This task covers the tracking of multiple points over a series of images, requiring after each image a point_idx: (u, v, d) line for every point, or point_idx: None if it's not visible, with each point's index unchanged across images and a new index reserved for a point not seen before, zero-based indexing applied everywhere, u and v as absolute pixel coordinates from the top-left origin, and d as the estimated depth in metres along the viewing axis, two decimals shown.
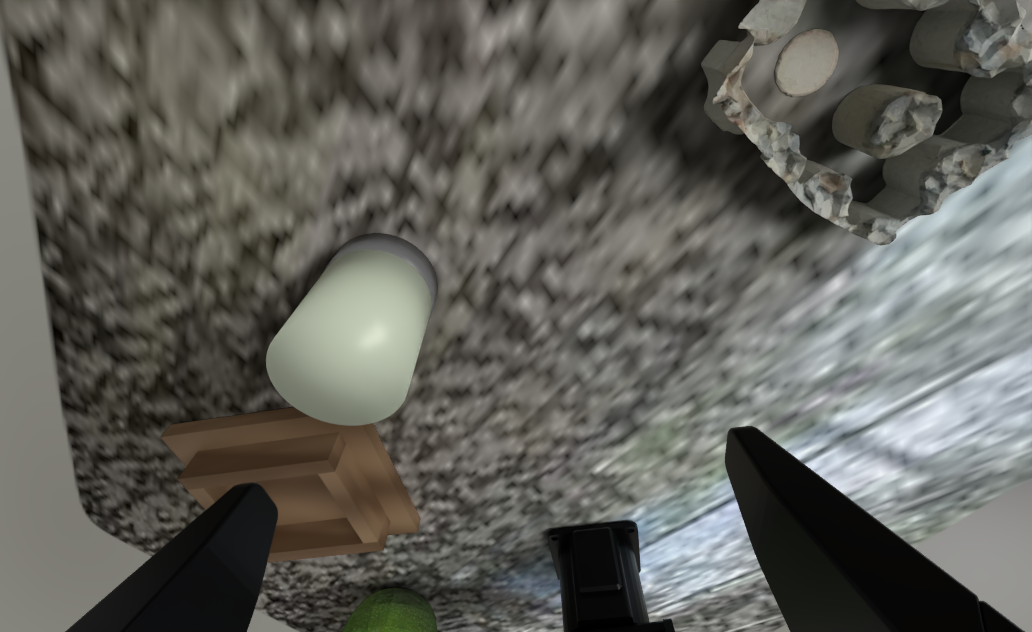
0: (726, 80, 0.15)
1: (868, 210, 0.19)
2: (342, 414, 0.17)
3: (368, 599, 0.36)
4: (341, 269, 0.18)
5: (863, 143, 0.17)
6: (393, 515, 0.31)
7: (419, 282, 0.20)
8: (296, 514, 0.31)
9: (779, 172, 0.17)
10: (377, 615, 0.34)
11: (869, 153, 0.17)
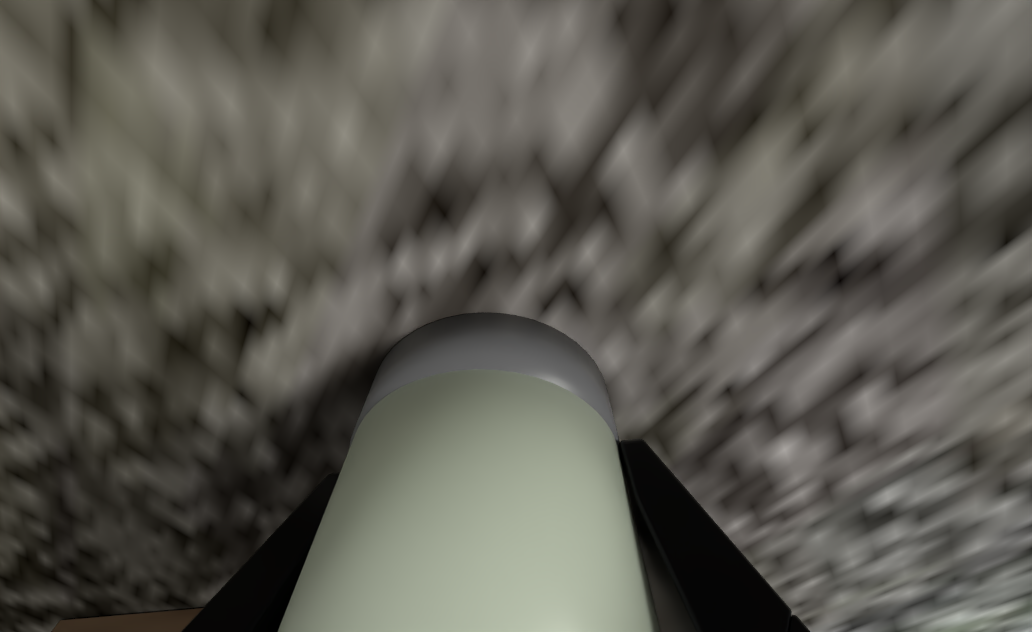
0: None
1: None
2: None
3: None
4: (432, 462, 0.06)
5: None
6: None
7: (615, 455, 0.08)
8: None
9: None
10: None
11: None
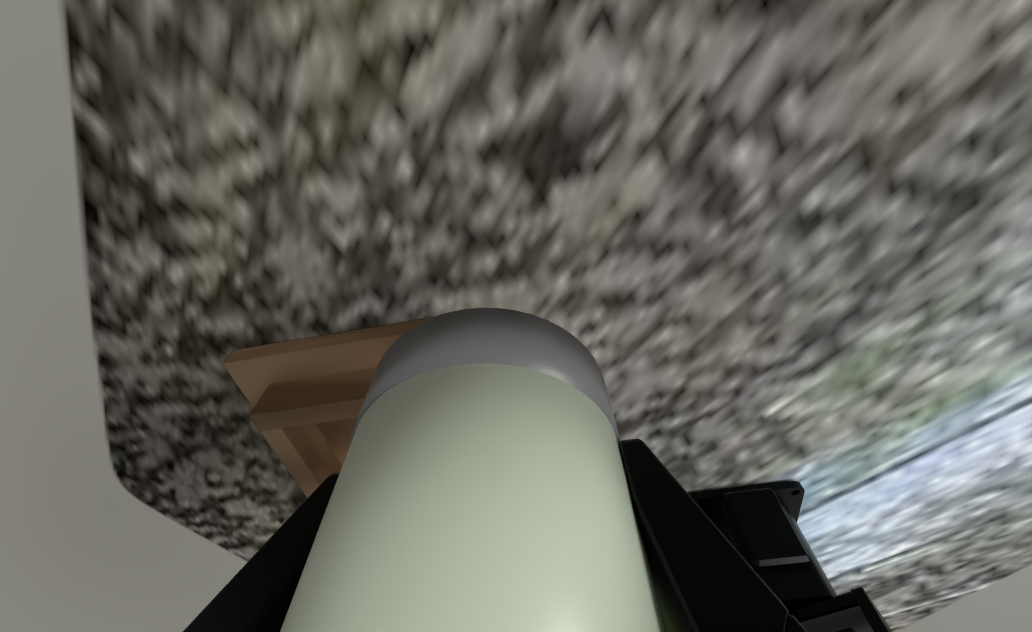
0: None
1: None
2: None
3: None
4: (436, 454, 0.06)
5: None
6: None
7: (615, 446, 0.08)
8: None
9: None
10: None
11: None
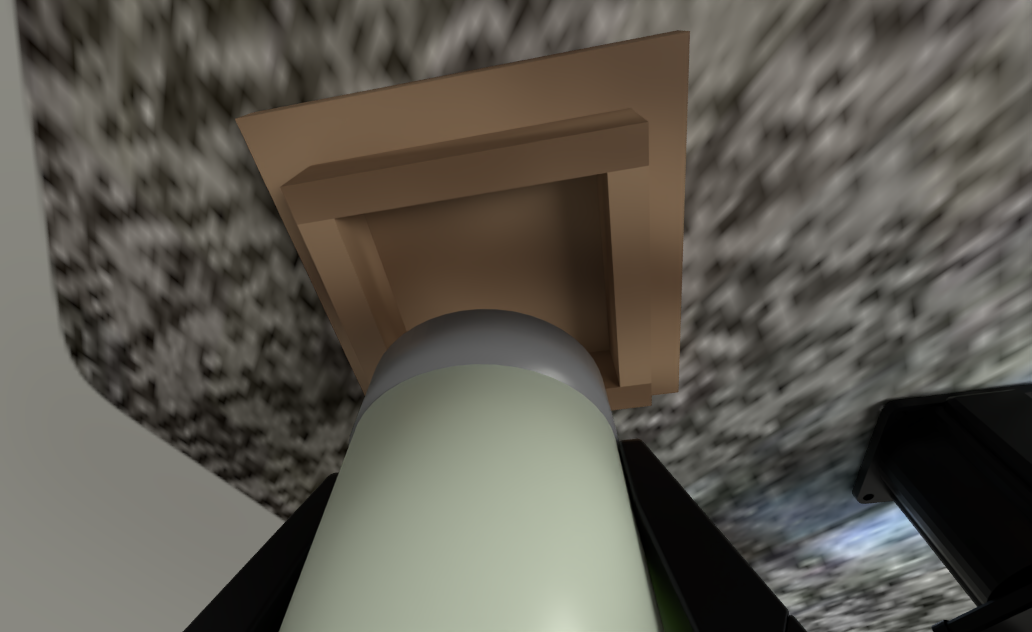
0: None
1: None
2: None
3: None
4: (433, 456, 0.06)
5: None
6: None
7: (614, 448, 0.08)
8: None
9: None
10: None
11: None
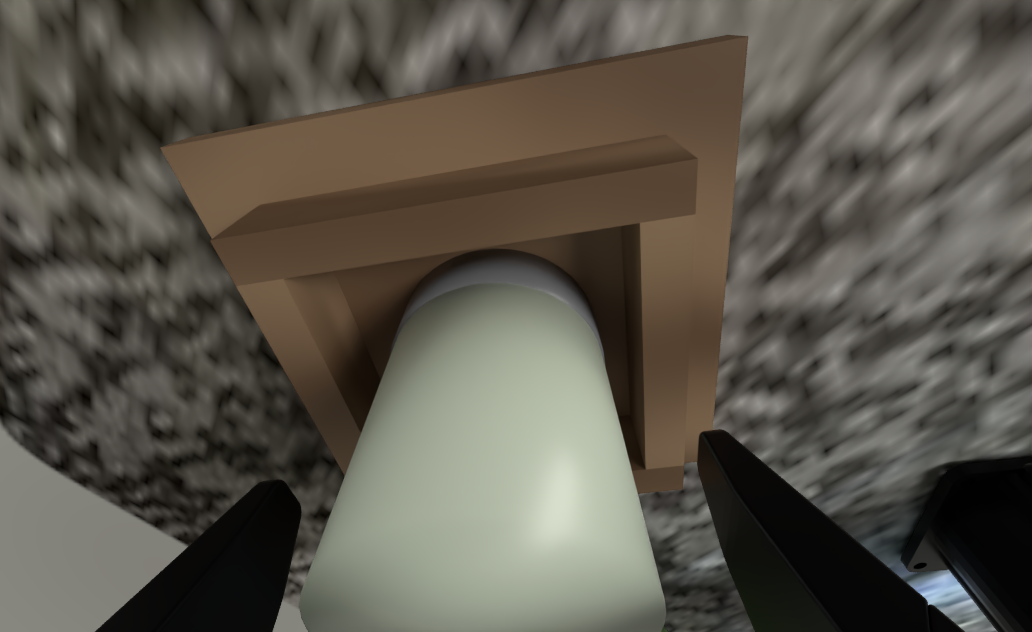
0: None
1: None
2: None
3: None
4: (463, 334, 0.08)
5: None
6: None
7: (598, 350, 0.10)
8: None
9: None
10: None
11: None
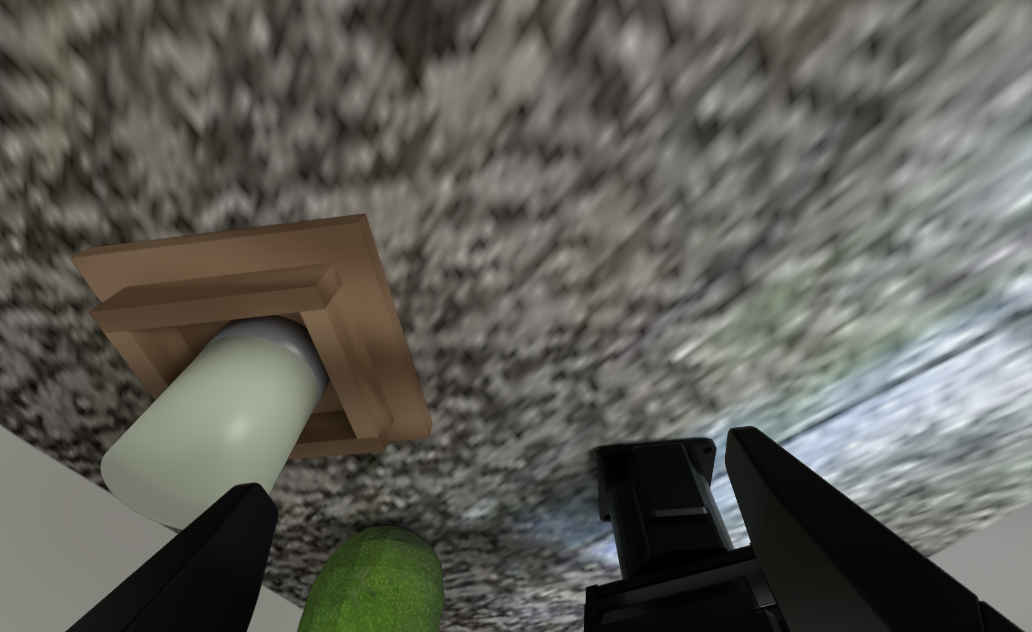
0: None
1: None
2: None
3: (355, 536, 0.28)
4: (206, 363, 0.17)
5: None
6: (398, 410, 0.23)
7: (300, 371, 0.19)
8: None
9: None
10: (367, 552, 0.26)
11: None
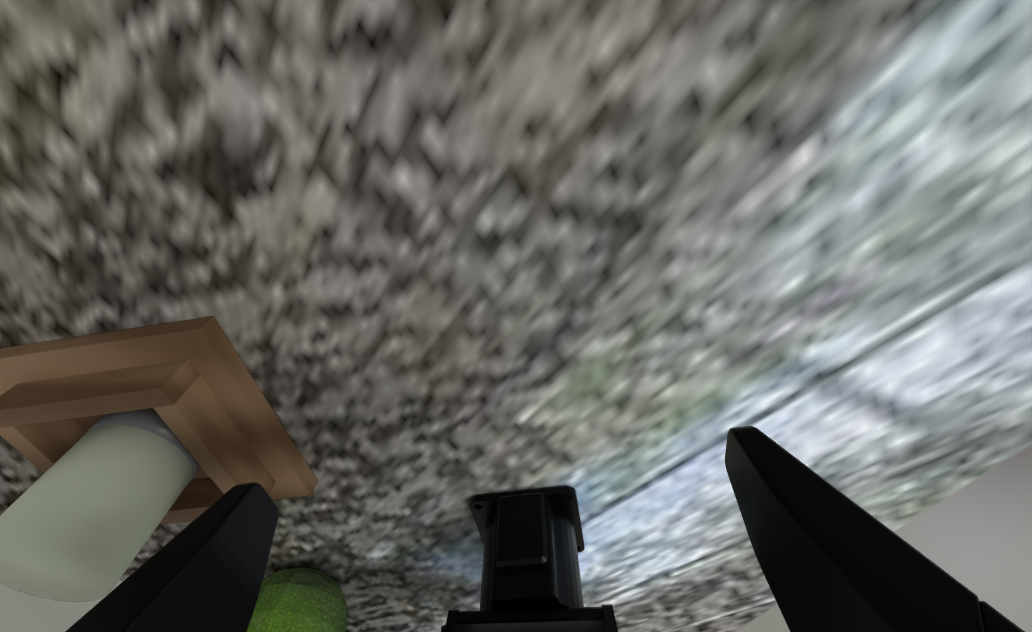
0: None
1: None
2: (62, 594, 0.19)
3: (264, 579, 0.30)
4: (72, 456, 0.20)
5: None
6: (277, 473, 0.26)
7: (165, 453, 0.22)
8: None
9: None
10: (268, 597, 0.29)
11: None
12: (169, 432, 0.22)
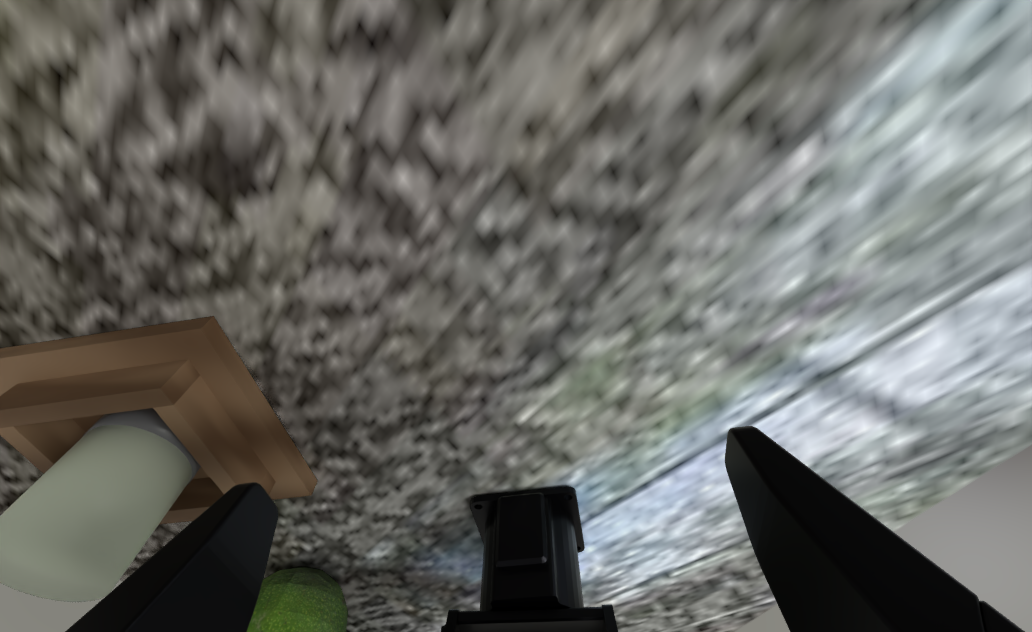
0: None
1: None
2: (62, 594, 0.19)
3: (264, 579, 0.30)
4: (72, 456, 0.20)
5: None
6: (277, 473, 0.26)
7: (165, 453, 0.22)
8: None
9: None
10: (268, 597, 0.29)
11: None
12: (169, 432, 0.22)
